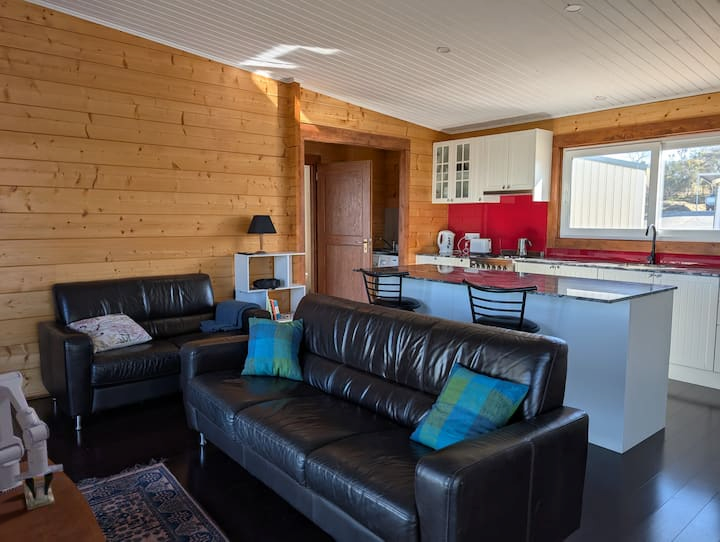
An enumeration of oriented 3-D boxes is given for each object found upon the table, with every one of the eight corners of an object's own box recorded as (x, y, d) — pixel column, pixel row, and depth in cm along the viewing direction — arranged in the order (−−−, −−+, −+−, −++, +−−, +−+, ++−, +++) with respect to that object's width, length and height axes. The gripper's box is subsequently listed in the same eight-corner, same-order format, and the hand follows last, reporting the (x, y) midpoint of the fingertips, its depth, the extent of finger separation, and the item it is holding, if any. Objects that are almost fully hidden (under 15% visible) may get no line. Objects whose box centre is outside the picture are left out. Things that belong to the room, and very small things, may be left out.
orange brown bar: (22, 482, 190) (22, 478, 190) (50, 475, 195) (50, 471, 195) (22, 485, 188) (22, 481, 188) (51, 477, 193) (51, 473, 193)
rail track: (24, 492, 191) (23, 481, 191) (49, 485, 196) (49, 474, 195) (27, 510, 180) (27, 498, 180) (54, 502, 185) (53, 490, 184)
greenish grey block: (33, 500, 184) (32, 486, 183) (46, 496, 186) (45, 482, 186) (34, 504, 181) (33, 490, 181) (47, 501, 184) (46, 487, 183)
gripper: (13, 469, 174) (16, 507, 176) (63, 457, 183) (65, 494, 185) (12, 461, 180) (15, 498, 182) (60, 450, 189) (62, 485, 190)
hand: (40, 495), depth 184 cm, fingers closed on greenish grey block, 3 cm apart
